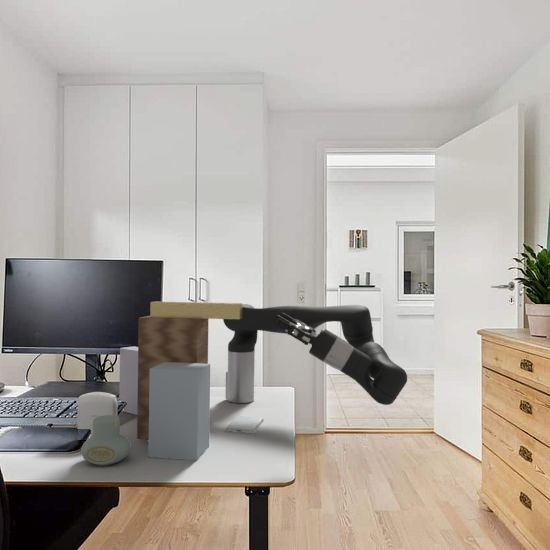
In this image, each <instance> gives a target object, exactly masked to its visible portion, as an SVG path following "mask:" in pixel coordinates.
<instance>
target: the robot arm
mask: <svg viewBox="0 0 550 550" xmlns="http://www.w3.org/2000/svg"><path fill="white" fill-rule="evenodd" d="M222 320H223V324H224V325H225V326H226V328H227V329H228V330H230V331H232V332H233V333H234V335H233V337H232V339H231V340H230V341H229V342H228V343H227V344H228V345H227V371H226V372H225V400H226V401H228V402H229V403H233V404H246V403H252V402H254V400H255V350H256V348H255V347H256V344H257V342H258V341H257V340H258V331H260V332H261V331H263V332H270V333H276V334H277V333H278V334H287V335H288V336H291V337H292V338H294V339H296V340H297V341H299V342H301V343H302V344H304V345H306V346H308V345H311V346H310V349H309V351H308V353H309V354H310V355H311V356H313V357H315V358H316V359H318V360H320V361H321V362H323V363H325V364H326V365H328V366H329V367H331V368H333V369H335V370H336V371H337V370H338V371H339V372H341V373H343V374H345V375H347V376H348V377H349V378H351V379H352V380H353V381H355V382H356V383H357V384H358V385H360V387H361V388H362V389H364V390H365V392H366V393H367V394H368V395H369V396H370V397H371V398H372V399H373V400H374V401H375V402H376V403H378V404H380V405H384V406H389V405H392V404H393V403H394V402H395V401H396V399H397V398H398V396H399V394H400V393H401V391H402V390H403V389H404V387H405V385H406V384H407V382H408V374H407V372H406V371H405V369H404V368H402V366H400V365H398V364H397V363H395V362H393V360H392V359H390V356H389V355H388V353H387V352H386V351H385V348H384V347H382V345H381V344H379V343H377V342H375V339H374V334H373V333H374V332H373V328H374V327H373V322H372V317H371V311H370V310H369V308H368V307H367V306H365V305H360V304H348V305H347V304H346V305H334V306H333V305H331V306H308V305H307V306H306V305H305V306H304V305H279V306H271V307H265V308H264V307H262V308H259V307H258V308H257V307H254V305H251V304H248V303H245V304H244V303H242V318H241V319H222ZM330 322H338V323H339V322H340V326H341V330H342V334H343V337H344V339H345V340H344V339H343V338H341V337H339V336H338V335H336V334H335V333H333V332H332V331H330V330H328V329H326V328H324V327H323V328H322V329H321V330H320V331H319V333H318V334H317V330H316V329H317V328H319V326H321V325H323V324H326V323H330Z"/></svg>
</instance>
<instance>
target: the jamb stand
mask: <svg viewBox="0 0 550 550" xmlns="http://www.w3.org/2000/svg"><path fill="white" fill-rule="evenodd" d="M137 338H138V341H137V343H138V345H137V347H138V400H137V415H136V417H137V418H136V419H137V420H136V421H137V422H136V425H137V426H136V440H137V441H148V442H149V381H150V368H153V367H155V366H157V365H159V364H161V363H164V362H179V363H203V364H209V319H204V318H158V317H150V315H146V316H142V317H141V316H140V317H138V335H137Z"/></svg>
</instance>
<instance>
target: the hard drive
mask: <svg viewBox="0 0 550 550" xmlns="http://www.w3.org/2000/svg"><path fill="white" fill-rule="evenodd" d="M264 421H265V419H264V418H263V417H259V416H258V417H257V416H241V415H240V416H239V415H237V417H235V419H233V420H232V421H231V422H230V423H229V424H228V425H227V426H226V427H225V429H224V432H229V431H232V432H233V433H242V432H245V433H244V434H254V433H255V432H256V431H257V430H258V428H259V427H260V426H261V425H262V424H263V422H264ZM256 429H257V430H256ZM232 432H231V433H232Z"/></svg>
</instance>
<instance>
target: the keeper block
mask: <svg viewBox="0 0 550 550" xmlns="http://www.w3.org/2000/svg"><path fill="white" fill-rule="evenodd" d="M210 398H211V363H208V364H203V363H179V362H164V363H161V364H159V365H157V366H155V367H153V368H150V381H149V441H148V458H154V457H156V458H157V457H159V458H157V459H168V458H172V459H171V460H182V459H184V460H183V461H185V460H186V461H196V460H197V461H198V460H199V459H200V458H201V457H202V456H203V454H204V453H205V452H206V451H207V450H208V449H209V448H210V419H211V418H210V411H211V410H210V409H211V407H210V405H211V403H210V402H211V399H210ZM207 448H208V449H207ZM206 449H207V450H206ZM205 450H206V451H205ZM201 455H202V456H201ZM200 456H201V457H200ZM199 457H200V458H199Z"/></svg>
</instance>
